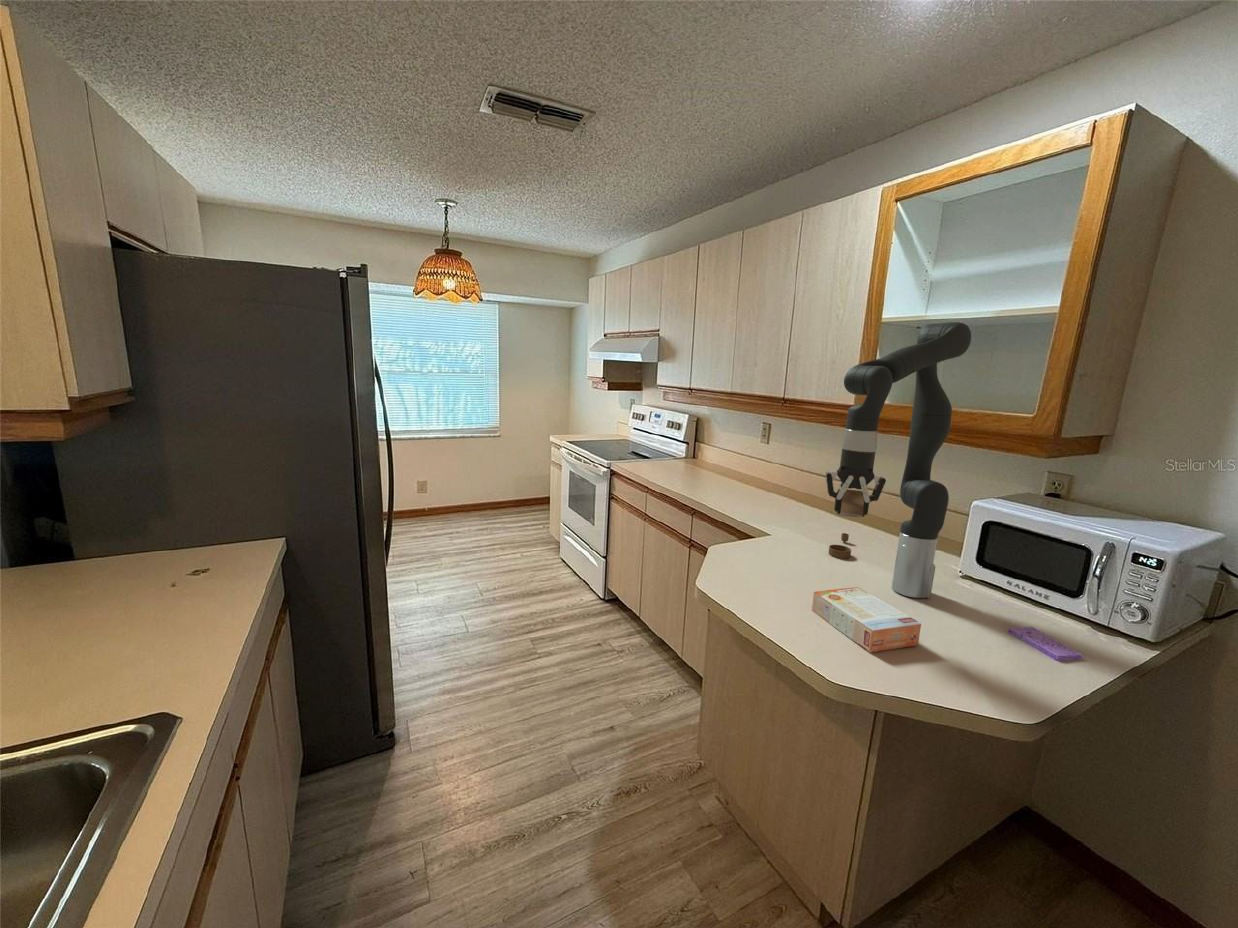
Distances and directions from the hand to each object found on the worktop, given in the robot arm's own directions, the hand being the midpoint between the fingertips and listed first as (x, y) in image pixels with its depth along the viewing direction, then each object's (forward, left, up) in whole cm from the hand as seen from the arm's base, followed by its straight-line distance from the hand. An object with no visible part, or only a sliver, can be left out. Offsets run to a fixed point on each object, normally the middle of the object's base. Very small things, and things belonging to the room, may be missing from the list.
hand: (850, 514), depth 126 cm
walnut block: (0, 0, 0) cm, 0 cm away
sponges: (-46, -1, -28) cm, 54 cm away
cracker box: (+1, -3, -24) cm, 24 cm away
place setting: (-8, -47, -28) cm, 55 cm away
